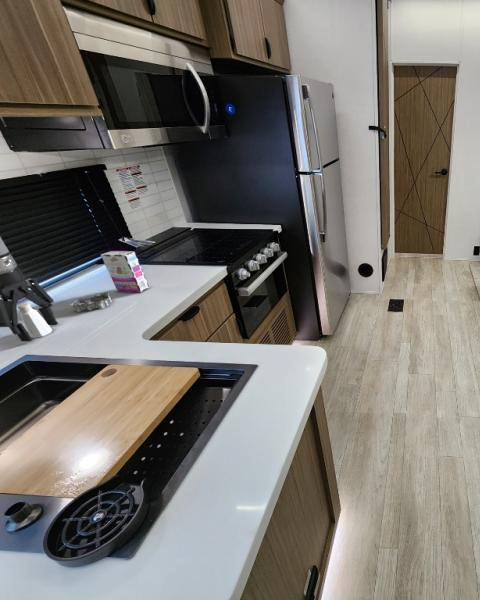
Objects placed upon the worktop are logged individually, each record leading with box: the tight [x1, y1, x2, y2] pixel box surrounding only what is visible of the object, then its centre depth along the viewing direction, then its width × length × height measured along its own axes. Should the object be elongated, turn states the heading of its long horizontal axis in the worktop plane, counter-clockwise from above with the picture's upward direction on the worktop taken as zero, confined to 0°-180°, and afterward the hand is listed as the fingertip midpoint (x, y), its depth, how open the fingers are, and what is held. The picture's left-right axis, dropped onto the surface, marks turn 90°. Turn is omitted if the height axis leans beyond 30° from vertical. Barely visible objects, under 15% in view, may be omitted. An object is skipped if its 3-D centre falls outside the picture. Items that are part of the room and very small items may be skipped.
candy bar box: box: [100, 250, 150, 293], centre depth 135 cm, size 11×5×16 cm, turn 83°
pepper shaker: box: [17, 302, 53, 339], centre depth 108 cm, size 5×5×11 cm
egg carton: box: [69, 291, 113, 313], centre depth 126 cm, size 11×8×4 cm
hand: (40, 332), depth 110 cm, fingers open, 9 cm apart
